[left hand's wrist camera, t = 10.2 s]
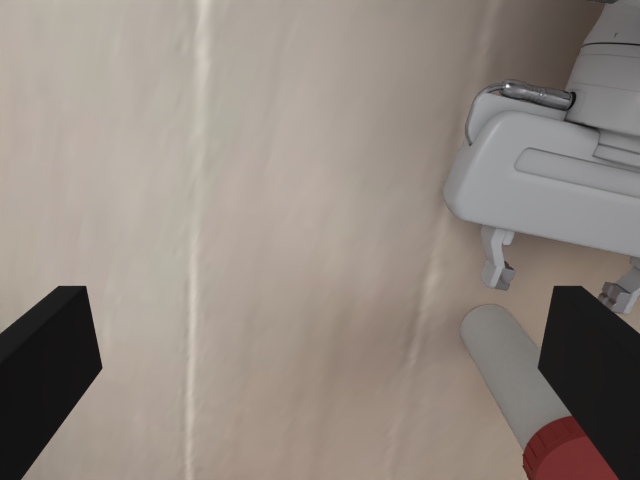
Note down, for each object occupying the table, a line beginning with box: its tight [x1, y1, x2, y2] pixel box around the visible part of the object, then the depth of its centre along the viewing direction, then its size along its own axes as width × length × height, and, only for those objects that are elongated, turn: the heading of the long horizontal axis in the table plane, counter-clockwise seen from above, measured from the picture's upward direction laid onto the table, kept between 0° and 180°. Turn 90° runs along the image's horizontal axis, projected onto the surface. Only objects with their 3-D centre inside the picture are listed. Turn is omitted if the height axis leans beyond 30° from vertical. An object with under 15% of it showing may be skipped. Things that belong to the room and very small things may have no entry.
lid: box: [522, 416, 619, 480], centre depth 27 cm, size 6×6×2 cm
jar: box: [460, 304, 572, 452], centre depth 35 cm, size 5×5×16 cm
